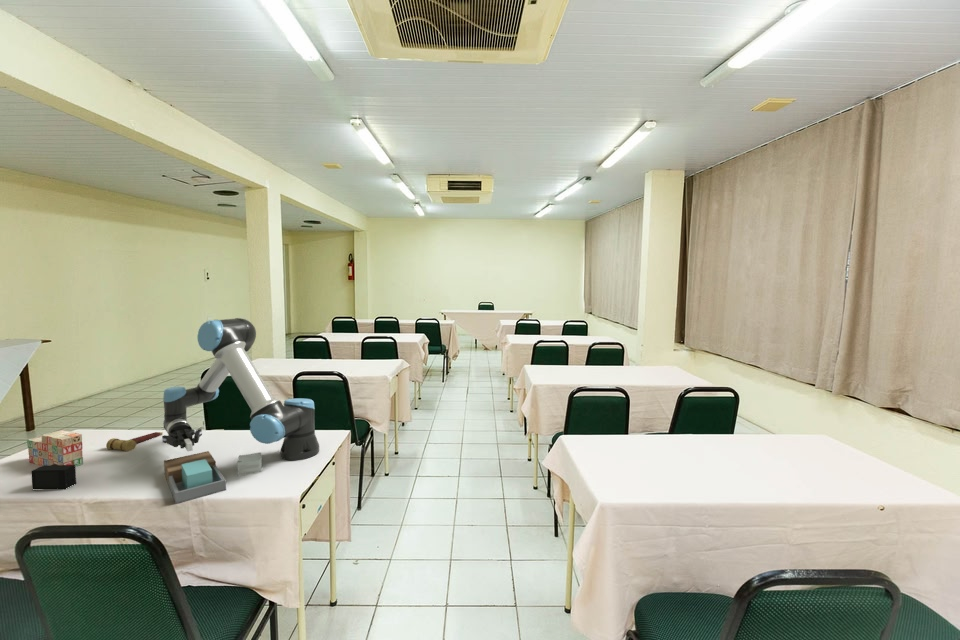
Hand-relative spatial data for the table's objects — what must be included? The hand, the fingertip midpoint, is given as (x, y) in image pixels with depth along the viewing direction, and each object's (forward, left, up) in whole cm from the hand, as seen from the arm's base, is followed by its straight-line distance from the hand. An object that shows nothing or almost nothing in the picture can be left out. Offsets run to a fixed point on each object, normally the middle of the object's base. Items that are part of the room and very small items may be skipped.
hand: (189, 447), depth 149 cm
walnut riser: (+2, -3, -11) cm, 12 cm away
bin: (-8, +8, -11) cm, 16 cm away
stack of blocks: (+60, -8, -12) cm, 62 cm away
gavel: (+47, -32, -12) cm, 58 cm away
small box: (-17, -8, -12) cm, 22 cm away
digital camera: (+41, +9, -12) cm, 43 cm away
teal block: (-4, +3, -7) cm, 9 cm away
